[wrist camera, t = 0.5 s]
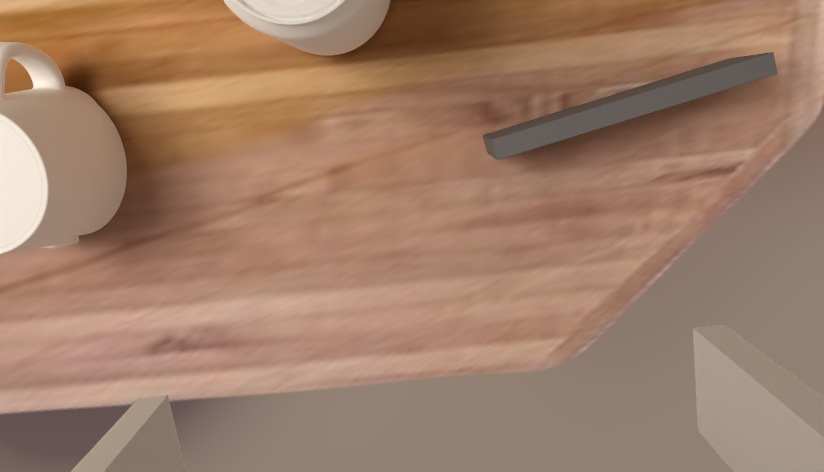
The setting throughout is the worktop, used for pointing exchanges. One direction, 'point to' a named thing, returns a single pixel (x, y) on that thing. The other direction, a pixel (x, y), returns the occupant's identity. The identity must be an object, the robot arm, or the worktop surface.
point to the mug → (54, 158)
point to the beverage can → (314, 22)
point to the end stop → (629, 104)
